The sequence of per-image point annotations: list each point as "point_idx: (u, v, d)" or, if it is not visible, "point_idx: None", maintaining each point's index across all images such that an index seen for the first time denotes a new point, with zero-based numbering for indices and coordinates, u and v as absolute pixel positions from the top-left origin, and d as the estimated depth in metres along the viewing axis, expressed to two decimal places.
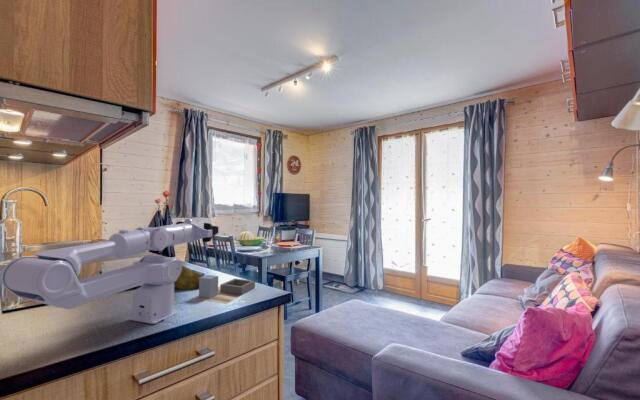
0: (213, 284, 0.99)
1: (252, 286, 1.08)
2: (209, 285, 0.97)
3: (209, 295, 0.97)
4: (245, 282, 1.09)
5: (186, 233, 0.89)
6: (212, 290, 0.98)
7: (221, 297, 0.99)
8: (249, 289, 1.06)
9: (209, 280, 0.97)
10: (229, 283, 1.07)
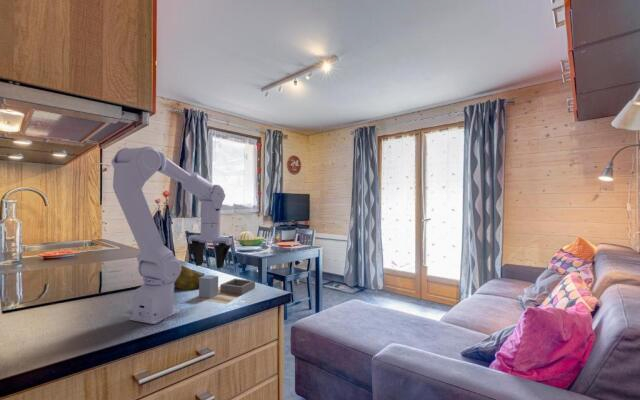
0: (213, 284, 0.99)
1: (252, 286, 1.08)
2: (209, 285, 0.97)
3: (209, 295, 0.97)
4: (245, 282, 1.09)
5: (218, 225, 0.99)
6: (212, 290, 0.98)
7: (221, 297, 0.99)
8: (249, 289, 1.06)
9: (209, 280, 0.97)
10: (229, 283, 1.07)
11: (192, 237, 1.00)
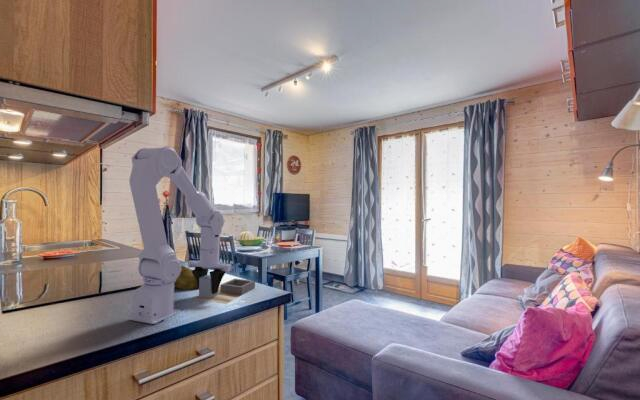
0: None
1: (252, 286, 1.08)
2: (209, 285, 0.97)
3: (209, 295, 0.97)
4: (245, 282, 1.09)
5: (218, 251, 0.99)
6: None
7: (221, 297, 0.99)
8: (249, 289, 1.06)
9: (209, 280, 0.97)
10: (229, 283, 1.07)
11: (191, 263, 1.00)
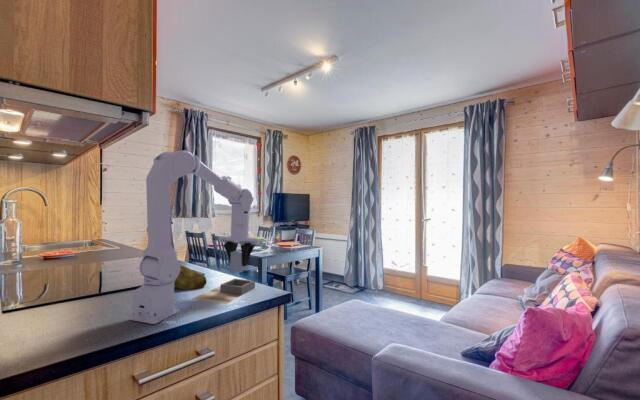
0: None
1: (252, 286, 1.08)
2: (240, 259, 1.04)
3: (240, 268, 1.04)
4: (245, 282, 1.09)
5: (247, 226, 1.06)
6: None
7: (221, 297, 0.99)
8: (249, 289, 1.06)
9: (240, 254, 1.04)
10: (229, 283, 1.07)
11: (222, 238, 1.07)
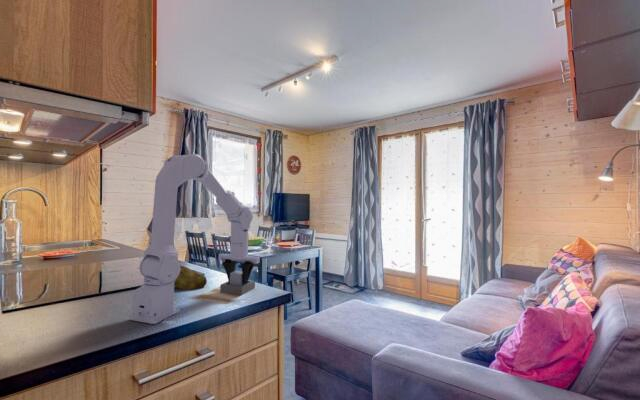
0: None
1: (252, 286, 1.08)
2: (239, 280, 1.04)
3: None
4: None
5: (247, 245, 1.06)
6: None
7: (221, 297, 0.99)
8: (249, 289, 1.06)
9: (239, 275, 1.04)
10: (229, 283, 1.07)
11: (222, 256, 1.07)
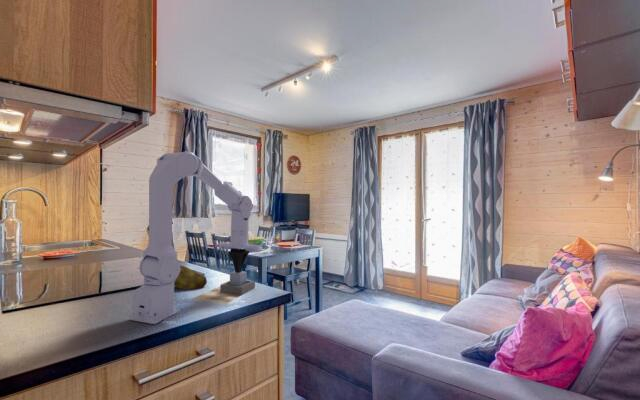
0: (243, 279, 1.06)
1: (252, 286, 1.08)
2: (239, 280, 1.04)
3: None
4: None
5: (247, 233, 1.06)
6: None
7: (221, 297, 0.99)
8: (249, 289, 1.06)
9: (239, 275, 1.04)
10: (229, 283, 1.07)
11: (222, 244, 1.07)
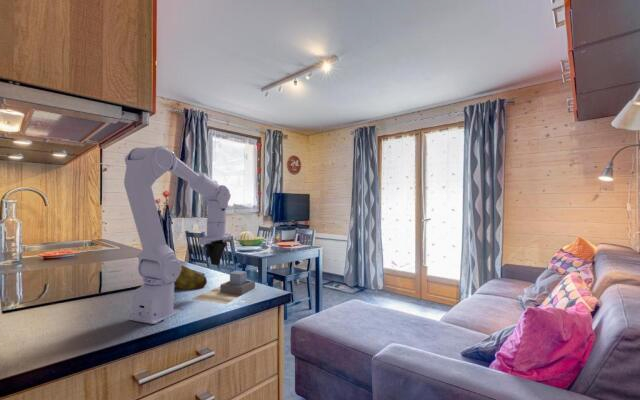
0: (243, 279, 1.06)
1: (252, 286, 1.08)
2: (239, 280, 1.04)
3: None
4: None
5: (211, 225, 1.00)
6: None
7: (221, 297, 0.99)
8: (249, 289, 1.06)
9: (239, 275, 1.04)
10: (229, 283, 1.07)
11: None
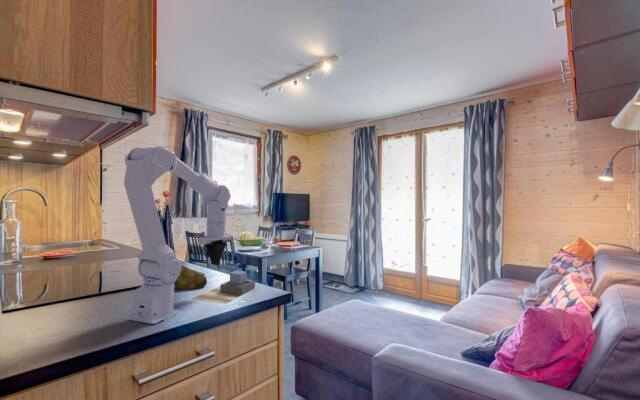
0: (243, 279, 1.06)
1: (252, 286, 1.08)
2: (239, 280, 1.04)
3: None
4: None
5: (211, 225, 1.00)
6: None
7: (221, 297, 0.99)
8: (249, 289, 1.06)
9: (239, 275, 1.04)
10: (229, 283, 1.07)
11: None
